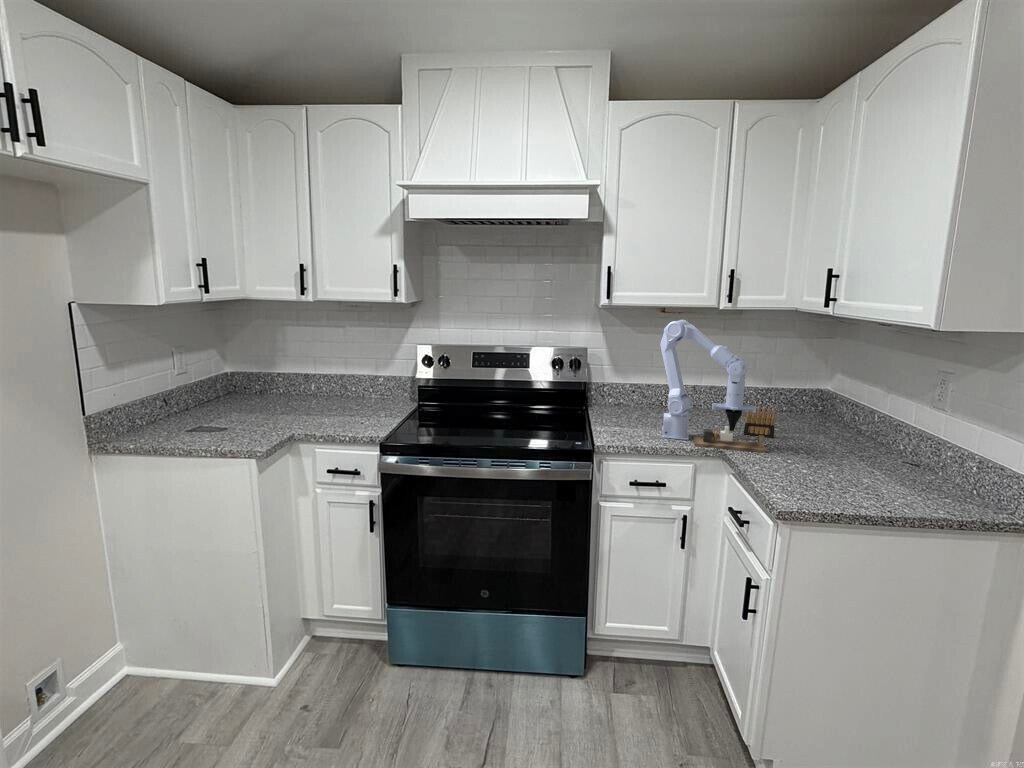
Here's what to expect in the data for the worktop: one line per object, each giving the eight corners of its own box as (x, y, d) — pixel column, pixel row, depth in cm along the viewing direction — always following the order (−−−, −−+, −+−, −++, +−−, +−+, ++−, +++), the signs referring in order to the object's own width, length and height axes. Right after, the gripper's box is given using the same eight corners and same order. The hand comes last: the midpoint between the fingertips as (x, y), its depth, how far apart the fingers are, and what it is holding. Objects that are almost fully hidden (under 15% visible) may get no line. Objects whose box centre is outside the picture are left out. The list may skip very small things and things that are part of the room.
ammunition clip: (773, 437, 212) (776, 406, 210) (773, 438, 210) (777, 407, 208) (743, 434, 216) (746, 404, 213) (743, 435, 214) (746, 405, 212)
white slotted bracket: (720, 440, 199) (721, 427, 198) (719, 437, 202) (720, 425, 201) (732, 441, 198) (733, 428, 197) (731, 438, 201) (732, 426, 200)
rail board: (694, 446, 199) (695, 432, 198) (694, 439, 208) (695, 426, 207) (767, 453, 193) (768, 438, 192) (763, 445, 201) (764, 432, 200)
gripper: (714, 394, 195) (710, 431, 197) (758, 397, 191) (754, 435, 193) (713, 390, 201) (709, 426, 204) (756, 393, 197) (752, 429, 200)
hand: (731, 430), depth 199 cm, fingers closed
